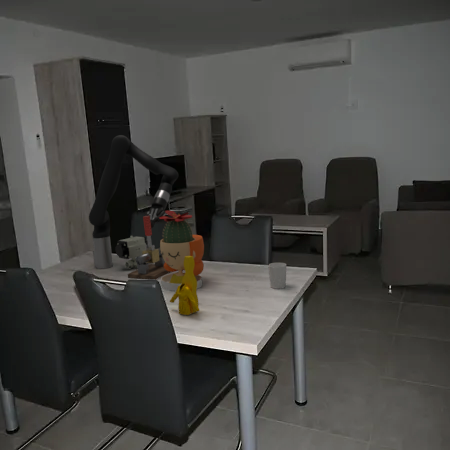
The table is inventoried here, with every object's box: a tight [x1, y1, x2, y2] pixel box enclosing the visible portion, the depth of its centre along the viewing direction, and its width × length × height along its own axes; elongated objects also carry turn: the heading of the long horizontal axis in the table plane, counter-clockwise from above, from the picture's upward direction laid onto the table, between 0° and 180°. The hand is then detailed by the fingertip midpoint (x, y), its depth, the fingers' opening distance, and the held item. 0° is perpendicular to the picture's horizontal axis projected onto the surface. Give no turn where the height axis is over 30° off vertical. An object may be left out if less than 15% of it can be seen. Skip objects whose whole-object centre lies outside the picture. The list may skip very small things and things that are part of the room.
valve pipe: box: [135, 244, 165, 275], centre depth 231 cm, size 6×20×13 cm, turn 155°
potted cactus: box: [159, 210, 205, 292], centre depth 209 cm, size 22×22×35 cm
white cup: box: [268, 262, 287, 290], centre depth 198 cm, size 8×8×10 cm
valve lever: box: [142, 215, 153, 249], centre depth 228 cm, size 2×2×17 cm
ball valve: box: [114, 235, 148, 270], centre depth 245 cm, size 18×8×18 cm, turn 139°
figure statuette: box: [169, 256, 200, 316], centre depth 171 cm, size 18×8×22 cm, turn 44°
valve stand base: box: [127, 263, 172, 280], centre depth 232 cm, size 16×20×2 cm
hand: (150, 227), depth 229 cm, fingers closed
